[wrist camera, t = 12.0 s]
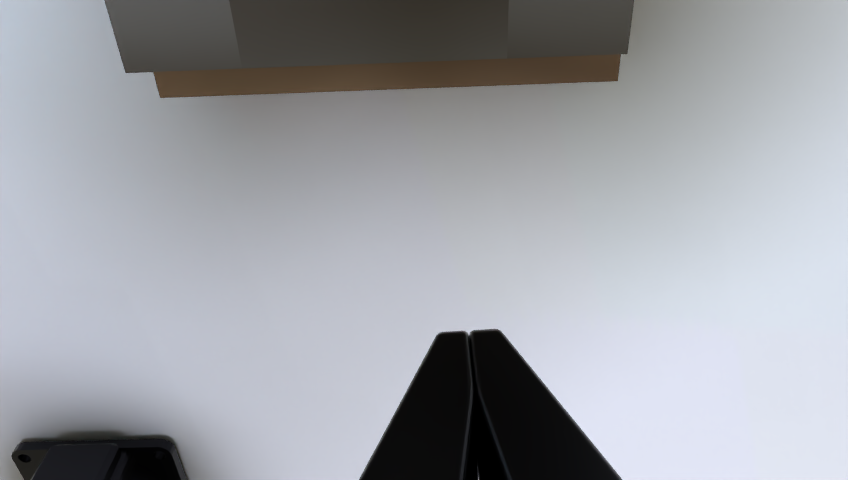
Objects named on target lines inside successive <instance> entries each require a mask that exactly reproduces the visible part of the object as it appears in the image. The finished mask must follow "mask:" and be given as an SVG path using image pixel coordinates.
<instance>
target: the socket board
mask: <svg viewBox="0 0 848 480" xmlns="http://www.w3.org/2000/svg"><path fill="white" fill-rule="evenodd" d="M105 4H106V7H107V10H108V14H109V17H110V21H111V24H112V28H113V31H114V35H115V38H116V41H117V45H118V48H119V52H120V55H121V59H122V62H123V66H124V69H125V72H126V73H138V72H154V76H155V80H156V84H157V87H158V91H159V95H160V98H169V97H197V96H224V95H251V94H278V93H305V92H333V91H360V90H387V89H414V88H442V87H469V86H496V85H523V84H550V83H578V82H605V81H618V73H619V65H620V57H621V54H627V52H628V44H629V36H630V28H631V20H632V12H633V4H634V0H105Z"/></svg>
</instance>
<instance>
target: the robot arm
mask: <svg viewBox="0 0 848 480" xmlns="http://www.w3.org/2000/svg"><path fill="white" fill-rule="evenodd" d="M12 459H13V461H14V462H15V464H16V466H17V468H18V469H19V471H20V473H21V475H22V476H23V478H24V480H187V479H186V476H185V473H184V470H183V467H182V465H181V462H180V459H179V456H178V454H177V451H176V448H175V446H174V445H173V444H172V443H171V442H170V441H167V440H164V439H139V440H96V441H53V442H23V443H20V444H18V445H17V447H16V448H15V450H14V452H13V453H12ZM478 478H479V480H622V479H621V477H620V476H619V475H618V474H617V473H616V471H615V470H614V469H613V468H612V466H611V465H610V464H609V463H608V461H607V460H606V459H605V458H604V457H603V455H602V454H601V453H600V452H599V450H598V449H597V448H596V447H595V446H594V444H593V443H592V442H591V441H590V439H589V438H588V437H587V436H586V435H585V433H584V432H583V431H582V430H581V428H580V427H579V426H578V425H577V424H576V422H575V421H574V420H573V419H572V417H571V416H570V415H569V414H568V412H567V411H566V410H565V409H564V408H563V406H562V405H561V404H560V403H559V401H558V400H557V399H556V398H555V397H554V395H553V394H552V393H551V392H550V390H549V389H548V388H547V387H546V386H545V384H544V383H543V382H542V381H541V379H540V378H539V377H538V376H537V374H536V373H535V372H534V371H533V370H532V368H531V367H530V366H529V365H528V363H527V362H526V361H525V360H524V359H523V357H522V356H521V355H520V354H519V352H518V351H517V350H516V349H515V348H514V346H513V345H512V344H511V343H510V341H509V340H508V339H507V338H506V337H505V335H504V334H503V333H502V332H501V331H500V330H498V329H486V330H473V331H471V332H470V334H469V335H468V333H467V332H465V331H452V332H440V333H439V334H437V336H436V337H435V339H434V341H433V343H432V345H431V346H430V348H429V350H428V352H427V354H426V356H425V358H424V359H423V361H422V363H421V365H420V367H419V369H418V371H417V373H416V374H415V376H414V378H413V380H412V382H411V384H410V386H409V387H408V389H407V391H406V393H405V395H404V397H403V399H402V400H401V402H400V404H399V406H398V408H397V410H396V412H395V414H394V415H393V417H392V419H391V421H390V423H389V425H388V427H387V428H386V430H385V432H384V434H383V436H382V438H381V440H380V441H379V443H378V445H377V447H376V449H375V451H374V453H373V455H372V456H371V458H370V460H369V462H368V464H367V466H366V468H365V469H364V471H363V473H362V475H361V477H360V479H359V480H478Z"/></svg>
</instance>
